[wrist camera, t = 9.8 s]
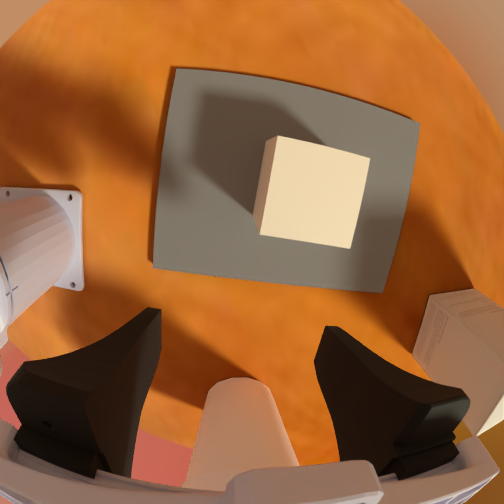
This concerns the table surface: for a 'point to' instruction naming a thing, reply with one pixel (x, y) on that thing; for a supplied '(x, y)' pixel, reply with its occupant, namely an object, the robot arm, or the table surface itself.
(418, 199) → the table surface
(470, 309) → the supplement box
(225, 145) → the charcoal mat
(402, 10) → the table surface
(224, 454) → the foam cup
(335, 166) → the cream cube
